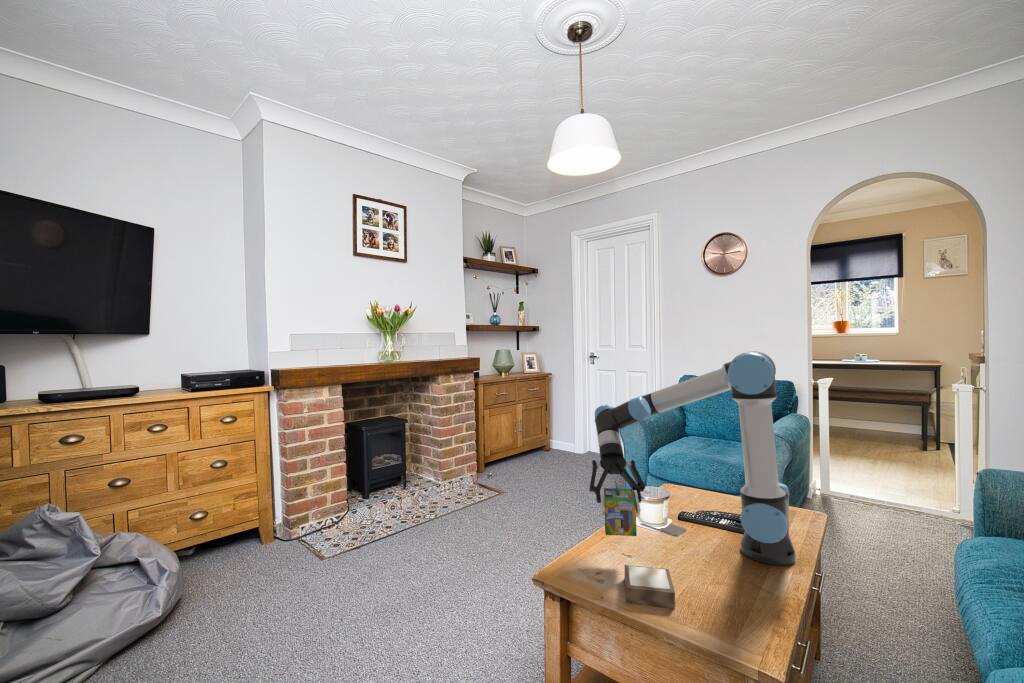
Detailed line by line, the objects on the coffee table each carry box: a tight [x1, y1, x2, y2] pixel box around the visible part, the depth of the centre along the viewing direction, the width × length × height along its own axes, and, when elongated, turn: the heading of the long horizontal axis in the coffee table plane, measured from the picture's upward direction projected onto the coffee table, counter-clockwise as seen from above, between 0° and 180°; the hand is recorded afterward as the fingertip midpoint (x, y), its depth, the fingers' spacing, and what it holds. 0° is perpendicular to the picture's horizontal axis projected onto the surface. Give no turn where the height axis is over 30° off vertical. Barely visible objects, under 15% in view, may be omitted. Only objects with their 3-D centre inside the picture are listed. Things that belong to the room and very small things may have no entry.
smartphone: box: [658, 523, 687, 537], centre depth 164 cm, size 7×1×15 cm
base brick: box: [624, 564, 676, 609], centre depth 121 cm, size 12×12×4 cm
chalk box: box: [603, 479, 638, 537], centre depth 138 cm, size 9×9×15 cm
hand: (621, 512), depth 135 cm, fingers closed on chalk box, 10 cm apart
